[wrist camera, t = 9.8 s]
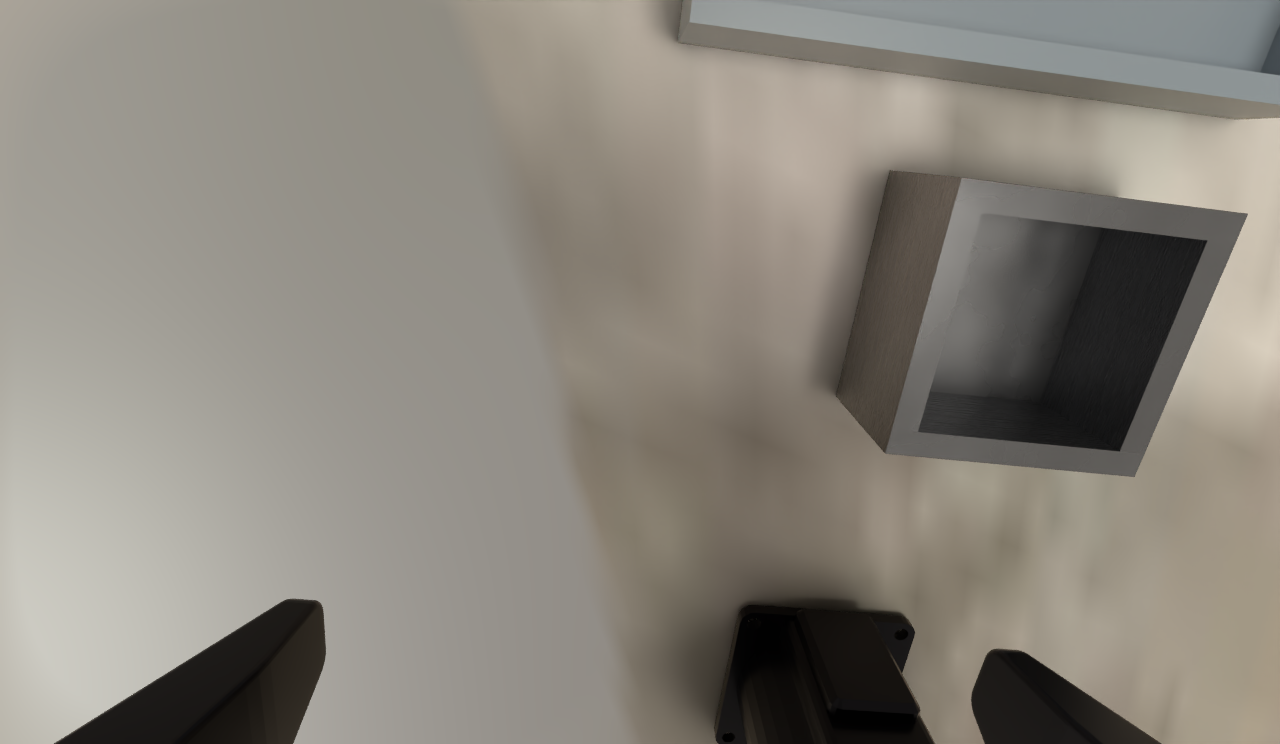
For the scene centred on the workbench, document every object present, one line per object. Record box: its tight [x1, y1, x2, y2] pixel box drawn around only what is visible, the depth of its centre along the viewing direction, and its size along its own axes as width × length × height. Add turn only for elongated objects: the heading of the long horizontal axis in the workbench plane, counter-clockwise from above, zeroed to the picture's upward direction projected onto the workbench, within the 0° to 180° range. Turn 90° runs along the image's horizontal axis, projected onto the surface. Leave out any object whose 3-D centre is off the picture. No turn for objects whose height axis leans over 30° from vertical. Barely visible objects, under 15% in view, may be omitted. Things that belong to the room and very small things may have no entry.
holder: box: [836, 171, 1248, 477], centre depth 18 cm, size 7×7×4 cm
